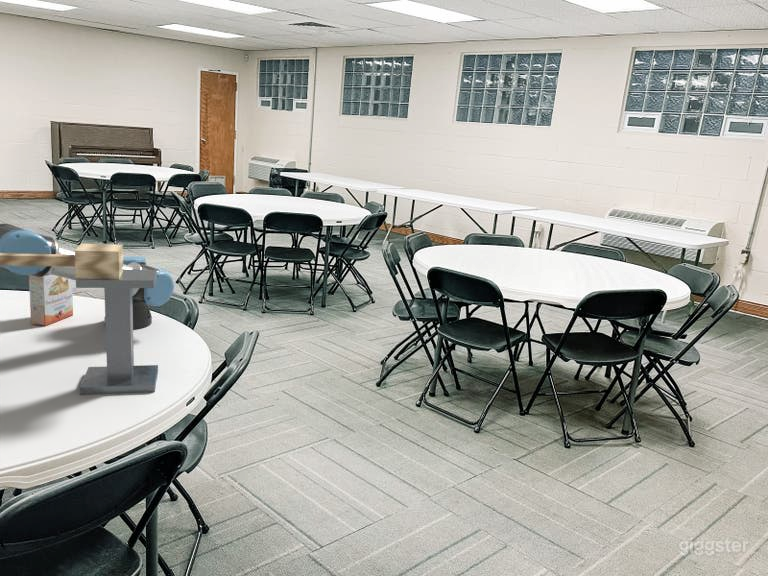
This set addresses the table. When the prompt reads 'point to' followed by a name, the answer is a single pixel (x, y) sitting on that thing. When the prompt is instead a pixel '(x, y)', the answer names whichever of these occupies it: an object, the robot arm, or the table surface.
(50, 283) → the cracker box
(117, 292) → the stand
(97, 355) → the table surface
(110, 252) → the mallet
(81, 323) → the table surface
